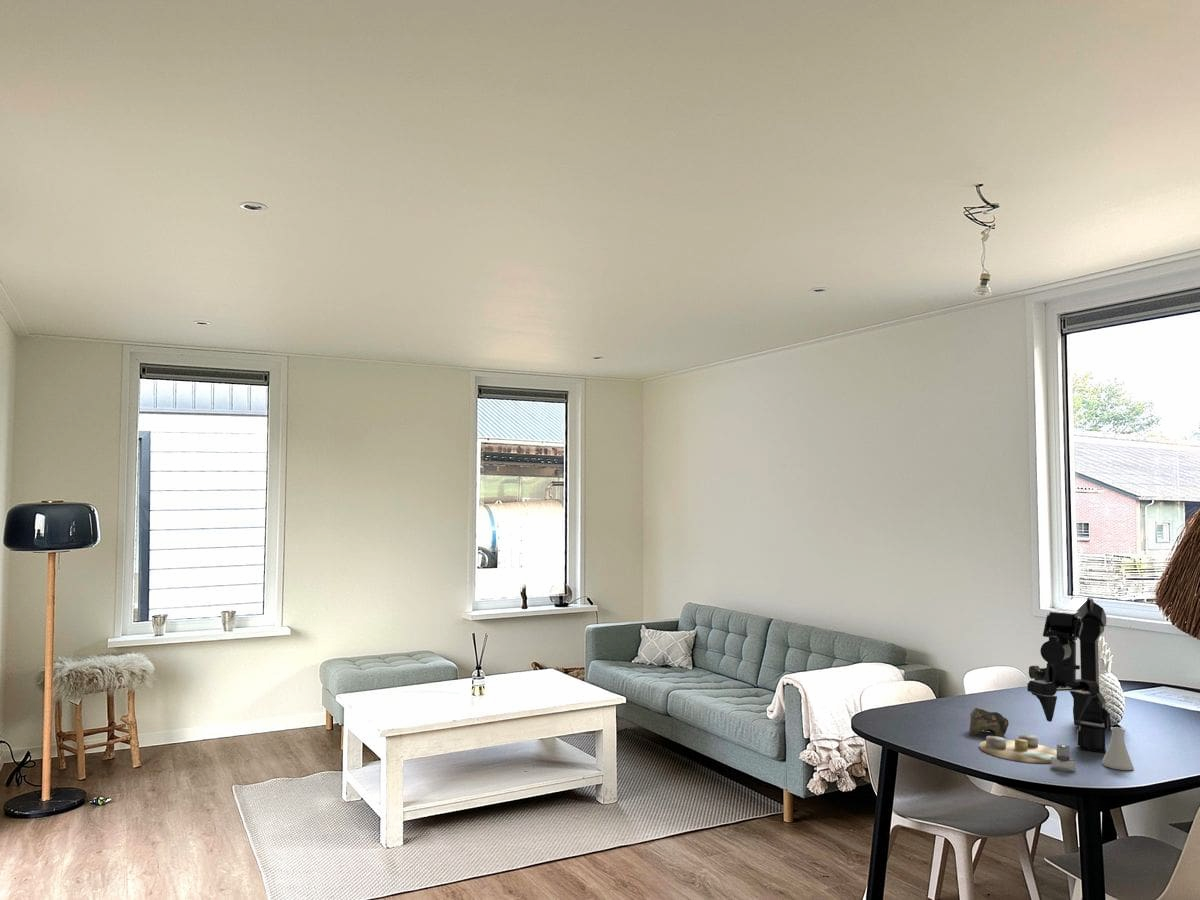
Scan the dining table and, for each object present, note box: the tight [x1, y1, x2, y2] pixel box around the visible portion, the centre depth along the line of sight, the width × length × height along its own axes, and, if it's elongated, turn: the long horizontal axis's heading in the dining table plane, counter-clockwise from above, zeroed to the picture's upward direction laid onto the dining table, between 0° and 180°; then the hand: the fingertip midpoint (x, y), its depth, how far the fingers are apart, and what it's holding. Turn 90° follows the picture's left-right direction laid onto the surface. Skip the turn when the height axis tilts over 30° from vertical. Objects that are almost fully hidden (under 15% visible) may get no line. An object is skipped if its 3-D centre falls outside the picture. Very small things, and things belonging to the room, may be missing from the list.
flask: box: [1101, 726, 1135, 771], centre depth 237 cm, size 7×7×10 cm
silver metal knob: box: [1050, 743, 1076, 773], centre depth 232 cm, size 6×6×6 cm
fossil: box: [968, 707, 1009, 738], centre depth 266 cm, size 11×9×10 cm
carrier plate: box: [979, 733, 1057, 764], centre depth 247 cm, size 21×21×3 cm
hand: (1063, 720), depth 233 cm, fingers open, 9 cm apart
